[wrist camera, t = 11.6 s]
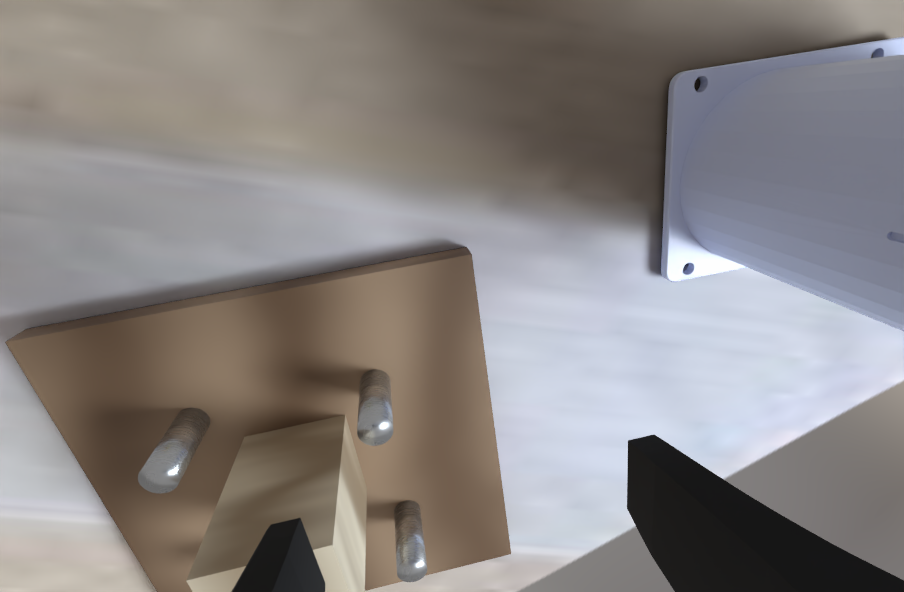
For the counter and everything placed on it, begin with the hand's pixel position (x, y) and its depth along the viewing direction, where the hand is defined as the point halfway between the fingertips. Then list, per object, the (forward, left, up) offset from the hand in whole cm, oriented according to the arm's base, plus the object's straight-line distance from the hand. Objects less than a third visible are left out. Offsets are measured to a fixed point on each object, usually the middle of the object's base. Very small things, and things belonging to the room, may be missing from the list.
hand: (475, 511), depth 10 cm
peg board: (+6, +5, -9) cm, 12 cm away
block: (+6, +5, -8) cm, 11 cm away
